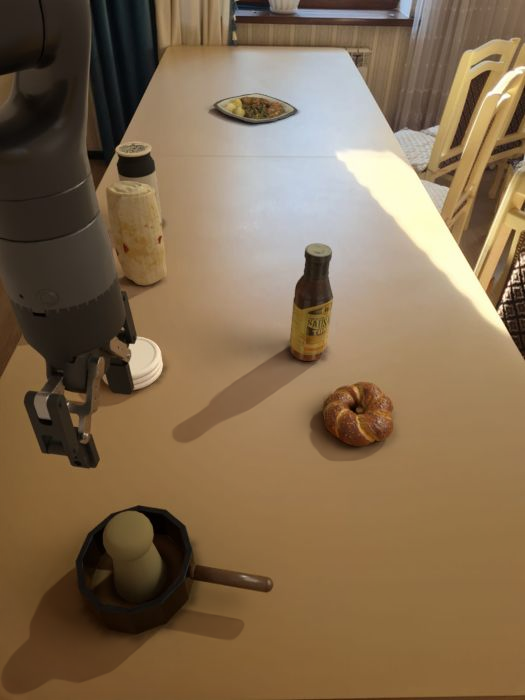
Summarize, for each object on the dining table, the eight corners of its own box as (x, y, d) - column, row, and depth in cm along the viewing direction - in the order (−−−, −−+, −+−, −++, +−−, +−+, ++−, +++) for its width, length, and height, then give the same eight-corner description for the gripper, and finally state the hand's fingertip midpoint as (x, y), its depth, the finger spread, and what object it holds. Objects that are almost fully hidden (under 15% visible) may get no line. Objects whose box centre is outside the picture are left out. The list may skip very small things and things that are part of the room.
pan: (68, 621, 59) (56, 601, 56) (110, 521, 68) (103, 499, 65) (263, 658, 57) (263, 640, 53) (280, 549, 66) (281, 527, 62)
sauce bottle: (306, 368, 90) (315, 267, 76) (281, 349, 93) (285, 249, 80) (334, 352, 93) (347, 251, 80) (309, 333, 96) (317, 235, 83)
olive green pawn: (177, 568, 64) (167, 518, 57) (144, 613, 60) (128, 565, 53) (137, 543, 66) (123, 492, 59) (103, 585, 62) (83, 536, 55)
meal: (252, 130, 172) (252, 122, 170) (204, 109, 186) (203, 101, 184) (307, 112, 185) (308, 104, 183) (258, 93, 198) (258, 86, 196)
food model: (171, 270, 111) (159, 177, 98) (164, 289, 106) (150, 193, 93) (125, 268, 112) (107, 175, 99) (115, 286, 107) (95, 191, 94)
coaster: (175, 365, 90) (173, 349, 88) (133, 401, 84) (129, 385, 82) (132, 342, 94) (128, 327, 92) (88, 375, 88) (83, 360, 86)
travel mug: (160, 233, 122) (149, 155, 110) (124, 233, 122) (110, 155, 110) (164, 216, 128) (154, 140, 116) (131, 216, 128) (117, 140, 116)
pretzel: (333, 382, 87) (335, 365, 85) (400, 401, 84) (405, 384, 82) (311, 436, 79) (312, 420, 76) (385, 459, 76) (389, 442, 73)
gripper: (56, 221, 44) (97, 367, 54) (-48, 332, 33) (28, 486, 44) (145, 228, 43) (169, 375, 53) (68, 345, 32) (117, 499, 43)
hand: (105, 425), depth 49 cm, fingers open, 8 cm apart
